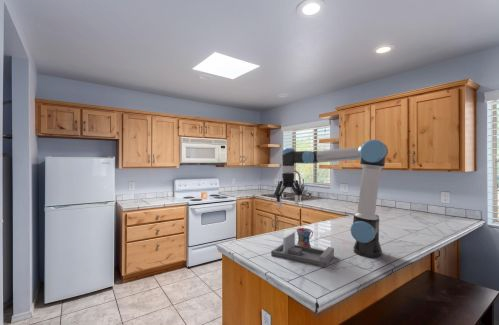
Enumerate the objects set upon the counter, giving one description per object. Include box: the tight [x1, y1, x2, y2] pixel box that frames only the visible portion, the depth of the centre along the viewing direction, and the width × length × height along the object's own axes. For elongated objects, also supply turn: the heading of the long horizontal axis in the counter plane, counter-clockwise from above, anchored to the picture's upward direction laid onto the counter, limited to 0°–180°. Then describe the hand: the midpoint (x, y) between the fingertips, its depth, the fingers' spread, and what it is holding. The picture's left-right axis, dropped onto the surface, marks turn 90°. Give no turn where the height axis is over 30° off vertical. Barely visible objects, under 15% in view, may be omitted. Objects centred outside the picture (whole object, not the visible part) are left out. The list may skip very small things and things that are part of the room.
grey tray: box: [270, 243, 335, 269], centre depth 142 cm, size 30×17×5 cm, turn 58°
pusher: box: [282, 231, 302, 256], centre depth 145 cm, size 7×14×10 cm, turn 148°
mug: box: [295, 227, 314, 248], centre depth 158 cm, size 12×9×11 cm
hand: (288, 206), depth 161 cm, fingers open, 13 cm apart
